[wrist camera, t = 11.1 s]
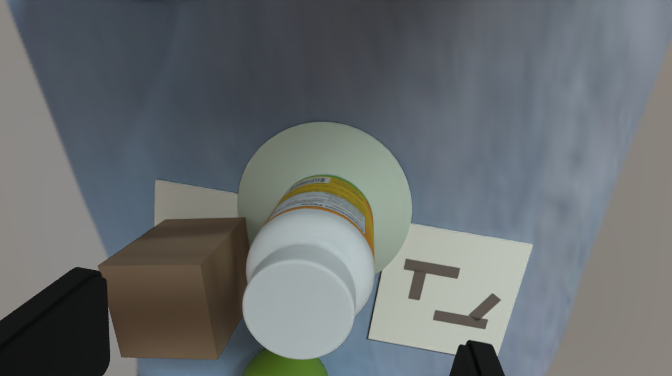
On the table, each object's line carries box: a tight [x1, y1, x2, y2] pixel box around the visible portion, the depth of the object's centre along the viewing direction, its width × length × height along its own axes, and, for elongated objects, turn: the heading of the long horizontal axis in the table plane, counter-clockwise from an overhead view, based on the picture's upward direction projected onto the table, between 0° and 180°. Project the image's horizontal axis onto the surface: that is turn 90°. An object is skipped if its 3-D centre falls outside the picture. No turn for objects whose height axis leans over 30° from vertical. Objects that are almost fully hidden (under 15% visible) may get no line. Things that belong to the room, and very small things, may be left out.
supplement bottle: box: [242, 173, 375, 360], centre depth 19 cm, size 5×5×10 cm
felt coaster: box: [238, 122, 412, 275], centre depth 24 cm, size 10×10×1 cm
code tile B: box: [154, 179, 250, 247], centre depth 25 cm, size 8×8×1 cm
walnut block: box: [98, 217, 250, 360], centre depth 22 cm, size 5×5×6 cm
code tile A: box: [368, 223, 533, 356], centre depth 25 cm, size 8×8×1 cm
